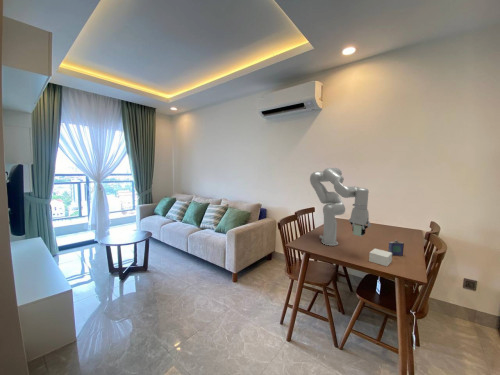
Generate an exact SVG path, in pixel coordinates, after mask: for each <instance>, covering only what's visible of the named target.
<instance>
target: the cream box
mask: <svg viewBox="0 0 500 375" xmlns="http://www.w3.org/2000/svg"><path fill="white" fill-rule="evenodd" d="M368 261H369V262H371V263H375V264H377V265H380V266H384V267H388V266H390V264H391V263H392V261H393V256H392V253H391V252H388V251H387V250H383V249H378V248H373V249H372V250H371V251H369V256H368Z"/></svg>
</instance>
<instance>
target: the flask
mask: <svg viewBox="0 0 500 375" xmlns="http://www.w3.org/2000/svg"><path fill="white" fill-rule="evenodd" d="M404 247H405V243H404V242H402V241H398V240H397V239H395V240H394V241H388V251H387V252H391V253H392V257H393V256H394V257H395V256H398V257H402V256H403V255H404V249H405V248H404Z"/></svg>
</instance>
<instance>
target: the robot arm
mask: <svg viewBox="0 0 500 375" xmlns="http://www.w3.org/2000/svg"><path fill="white" fill-rule="evenodd" d="M309 182H310V185H311V187H312V188H313V189H314V191H315V194H316V196H317V198H318V200H319V201H320V203H321V204H323V207H322V212H323V213H322V214H323V235H321V234H320V235H319V239H321V241H320V243H321V242H322V243H323V245H324V244H325V246H328V245H329V246H330V247H333V246H338V245H339V242H338V241H337V226H338V224H337V222H338V221H337V218H336V217H335V216H341V215H344V214H345V212H346V206H345V204H344V203H343V201H342V199H341V198H343V199H344V198H345V199H348V198H349V199H350V198H354V203H352V206H353V208H352V209H351V212H350V218H349V219H348V220H347V221H348V222H349V224H350V225H351V227H352V228H351V229H352V232H353V226H354V224H360V225H362V228H363V229H362V232H361V235H363V236H365V234H366V229H368V228H369V227H372V224H371V222H370V220H369V219H370V216H369V210H368V204H369V201H368V200H369V193H370V192H369V189H368V188H366V187H359V186H356V185H354V186H345V185H343V182H344V177H343V175H342V170H341V169H340V168H338V167H329V168H328V167H327V168H325V169H323V171H315V172H312V173H311V174H310V177H309ZM323 182H324V183H325V182H330V183H331V184H332V186H333V189H334V191H329V190H327V188H326V186H325V185H324V184H323ZM322 243H321V244H322Z"/></svg>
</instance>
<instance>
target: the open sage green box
mask: <svg viewBox="0 0 500 375" xmlns="http://www.w3.org/2000/svg"><path fill="white" fill-rule="evenodd" d="M352 229H353V231H352V235H353V236H357V237H364V235H361V232H362V229H363V228H362V225H360V224H354V226H353V227H352Z"/></svg>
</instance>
